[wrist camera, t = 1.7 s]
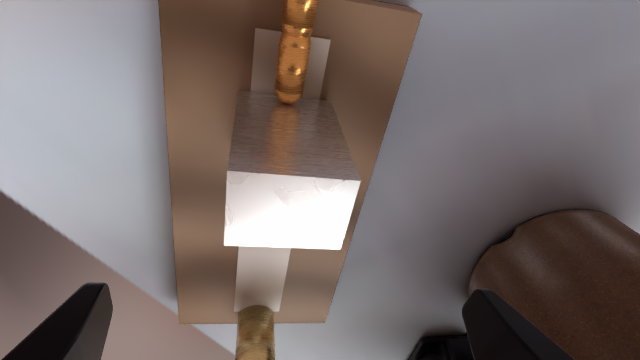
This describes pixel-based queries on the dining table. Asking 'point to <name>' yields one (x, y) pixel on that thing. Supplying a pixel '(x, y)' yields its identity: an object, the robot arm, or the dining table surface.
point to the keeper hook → (255, 334)
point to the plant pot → (571, 281)
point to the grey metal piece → (289, 156)
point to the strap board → (217, 126)
